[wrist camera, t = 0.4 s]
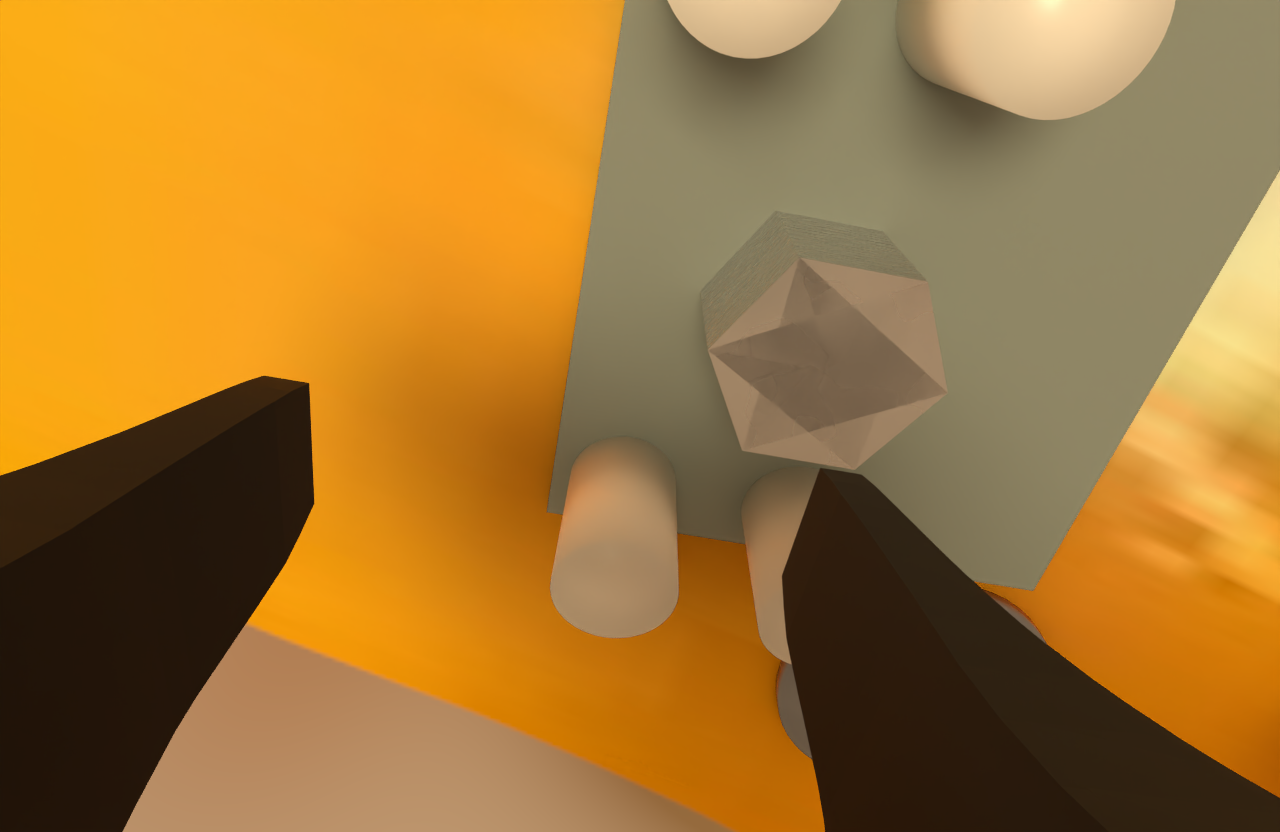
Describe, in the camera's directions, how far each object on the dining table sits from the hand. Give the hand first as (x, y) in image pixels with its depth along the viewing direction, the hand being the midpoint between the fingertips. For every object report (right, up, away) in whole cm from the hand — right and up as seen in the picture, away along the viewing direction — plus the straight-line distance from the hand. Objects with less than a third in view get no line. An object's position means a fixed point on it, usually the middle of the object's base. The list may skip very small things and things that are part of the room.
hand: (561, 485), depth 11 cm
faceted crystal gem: (+5, +4, +8) cm, 10 cm away
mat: (+7, +4, +8) cm, 12 cm away
